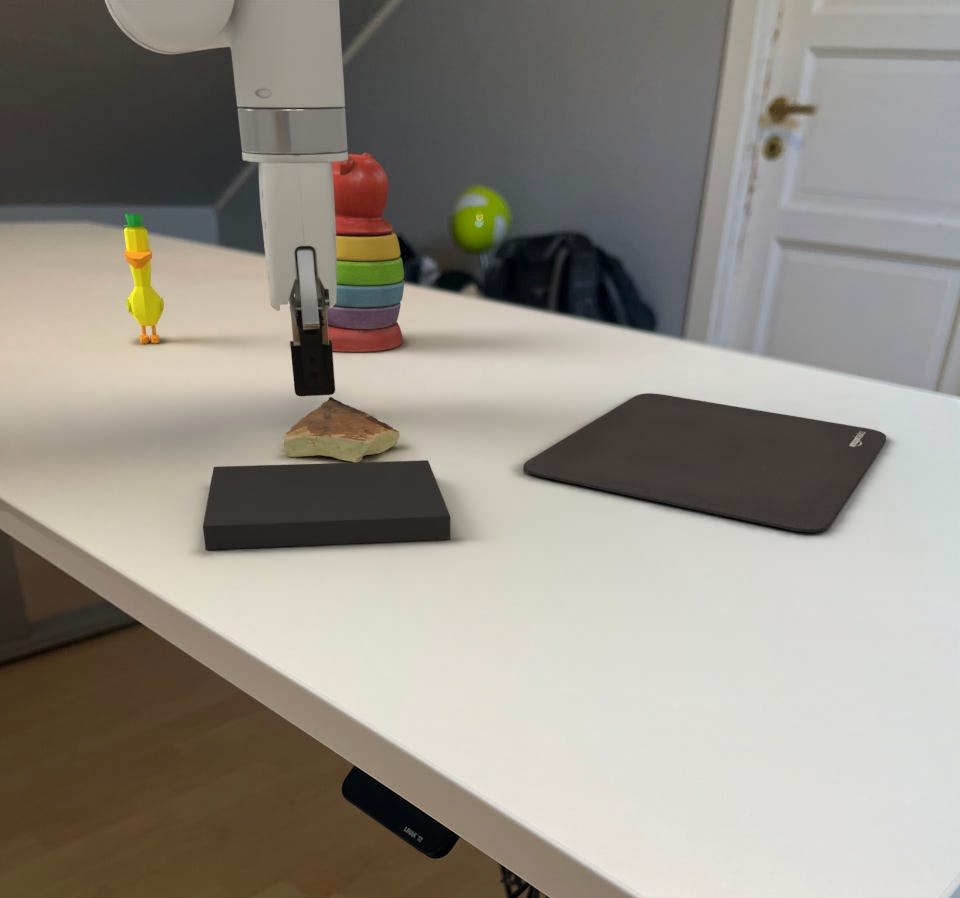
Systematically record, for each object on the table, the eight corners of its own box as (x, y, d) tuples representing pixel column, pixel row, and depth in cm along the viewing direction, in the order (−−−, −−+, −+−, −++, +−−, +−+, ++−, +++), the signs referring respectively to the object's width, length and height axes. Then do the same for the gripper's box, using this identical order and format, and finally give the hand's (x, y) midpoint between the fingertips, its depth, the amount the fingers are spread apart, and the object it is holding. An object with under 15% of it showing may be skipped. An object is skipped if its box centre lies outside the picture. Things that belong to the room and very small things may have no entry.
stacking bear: (343, 327, 108) (336, 148, 99) (423, 338, 104) (423, 153, 96) (286, 346, 99) (273, 151, 91) (372, 358, 96) (367, 157, 87)
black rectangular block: (205, 550, 55) (202, 525, 54) (215, 488, 64) (213, 466, 63) (450, 539, 57) (450, 516, 57) (428, 481, 66) (428, 459, 65)
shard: (330, 414, 79) (329, 392, 78) (422, 423, 77) (422, 401, 77) (279, 456, 69) (277, 431, 69) (382, 466, 68) (381, 441, 67)
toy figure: (167, 348, 97) (150, 218, 91) (129, 349, 96) (110, 218, 90) (168, 334, 103) (152, 210, 97) (132, 335, 102) (115, 210, 96)
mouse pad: (822, 537, 59) (822, 533, 59) (513, 471, 68) (513, 468, 68) (889, 434, 78) (890, 431, 78) (642, 393, 87) (642, 390, 87)
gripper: (242, 133, 75) (267, 371, 84) (238, 143, 62) (268, 423, 71) (339, 132, 76) (354, 367, 85) (355, 142, 64) (370, 417, 73)
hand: (314, 392), depth 78 cm, fingers closed
